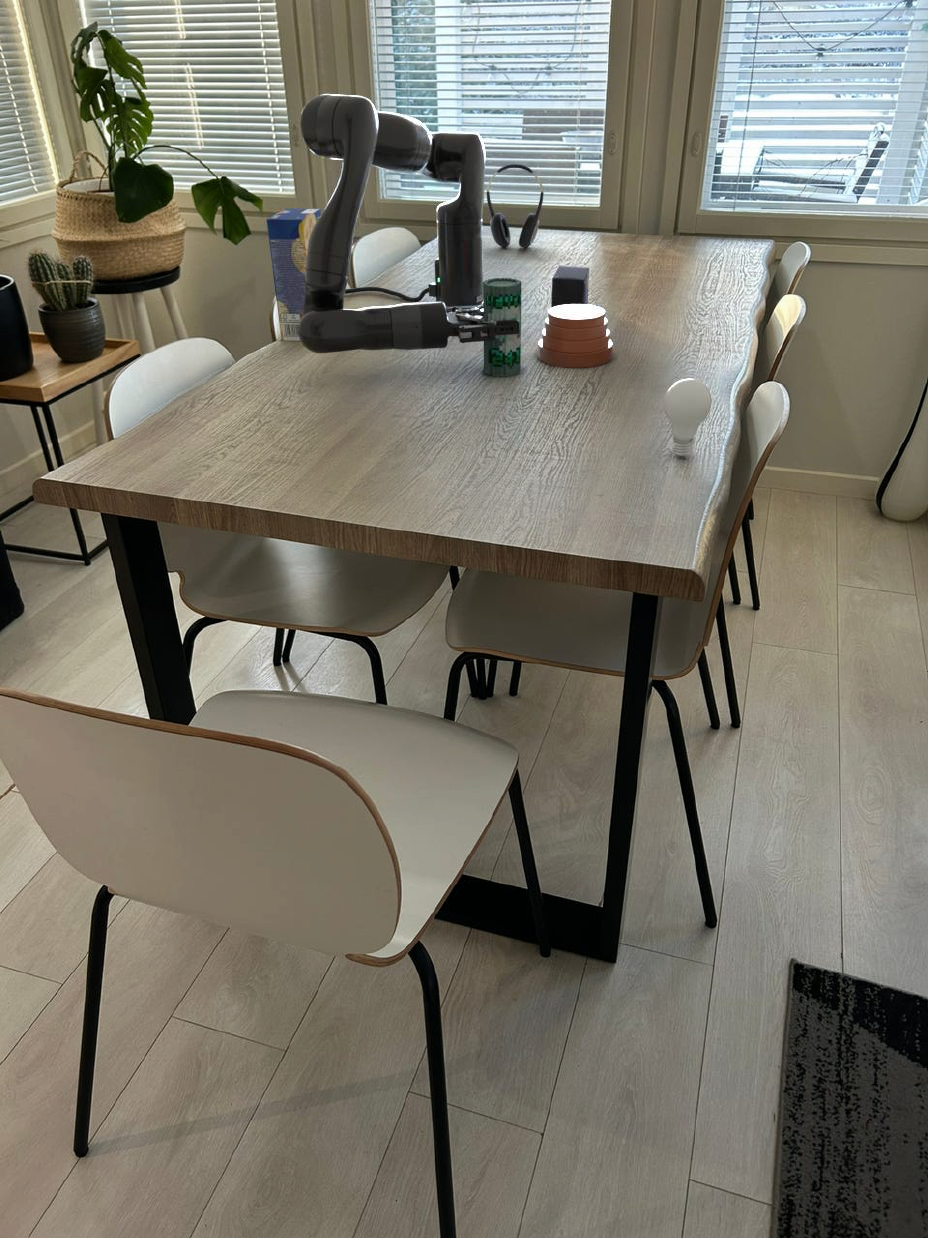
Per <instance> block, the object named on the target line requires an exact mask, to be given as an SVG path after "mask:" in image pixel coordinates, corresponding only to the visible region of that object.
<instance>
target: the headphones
mask: <svg viewBox="0 0 928 1238" xmlns="http://www.w3.org/2000/svg"><path fill="white" fill-rule="evenodd" d="M509 169H521V170H523V171H526V172H528V173H529V174H531V175H533V176H534V177H535V178H536V180H537V182H538V184H539V186H540V196H539V201H538V205H537V208H536V210H535V213H532V212H531V213H528V215H527V216H526V218H525V220H524V222H523V225H522V229H521V231H520V234H519V239H518V245H519V247H520V248H523V249H526V248H529V247H530V246H532V245H533V243H534V241H535V239H536V236H537V233H538V230H539V226H540V220H539V217H540V214H541V210H542V206H543V202H544V193H545V192H544V187H543V183H542V181H541V180H540V178H539V176H538V175H537V174H536V173H535V172H534V170H533V169H531V168H530V167H528V166H526V165H524V164H521V163H509V164H506V165H504V166H501V167H500V168H499V169H497V170H496V172H495V173H494V174H493V175H492V176H491V178H490V180H489V181H488V184H487V187H486V201H487V207H488V210H489V213H490V214H489V215H490V218H491V220H489V221H490V222H489V224H490V231H491V236H492V238H493V240H494V243H495V244H496V245H497V246H499V247H501V248H506V247H507V248H508V246H510V244H511V233H510V232H511V231H510V228H509V224H508V222H507V219H506V217H505V215H504V214H503V213H501V212H495V210H494V207H493V204H492V201H491V200H492V199H491V193H490V186H491V184H492V181H493V180H494V179H495V178H496V176H497V175H498V174H500V173H501V172H504V171H506V170H509Z"/></svg>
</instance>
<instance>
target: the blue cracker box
mask: <svg viewBox="0 0 928 1238" xmlns="http://www.w3.org/2000/svg"><path fill="white" fill-rule="evenodd" d="M321 214H322V212H321V208H284V209H283V210H281V211H278V212H277V213H275V214H274V215H271V216H270V217H268V218H266V226H267V234H268V243H269V244H268V245H269V251H270V260H271V267H272V268H271V269H272V275H273V283H274V292H275V300H276V306H277V308H276V309H277V316H278V324H279V331H280V340H281V341H295V342H296V341H298V342H301V341H300V339H299V335H298V326H299V323H300V320H301V319H302V313H303V306H304V299H305V292H306V287H305V270H306V260H307V251H308V243H309V239H310V235H311V232H312V230H313V227H314V225H315V223H316V222H317V220H318V218H319V217H320V215H321Z"/></svg>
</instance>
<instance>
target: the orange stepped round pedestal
mask: <svg viewBox="0 0 928 1238" xmlns="http://www.w3.org/2000/svg"><path fill="white" fill-rule="evenodd" d="M608 322H609V321H608V319H607V318H606V310H605V308H603V307H600V306H596V305H593V304H588V305H586V304H567V305H560V306H556V307H553V308H551V307H550V308H549V309H548V310H547V317H546V318H545V320H544V328H543V329H542V331H541V339H540V340H539V341H538V347H537V348H538V353H537V356H538V359H539V360H540V361H541V362H543V363H544V364H548V365H550V366H555V367H560V368H573V369H579V368H581V369H582V368H591V367H597V366H601V365H603V364H606V363H609V361H611V359H612V356H613V342H612V340H611V339H610V337H611V336H610V334H611V332H610V330H609V329H608Z"/></svg>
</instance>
